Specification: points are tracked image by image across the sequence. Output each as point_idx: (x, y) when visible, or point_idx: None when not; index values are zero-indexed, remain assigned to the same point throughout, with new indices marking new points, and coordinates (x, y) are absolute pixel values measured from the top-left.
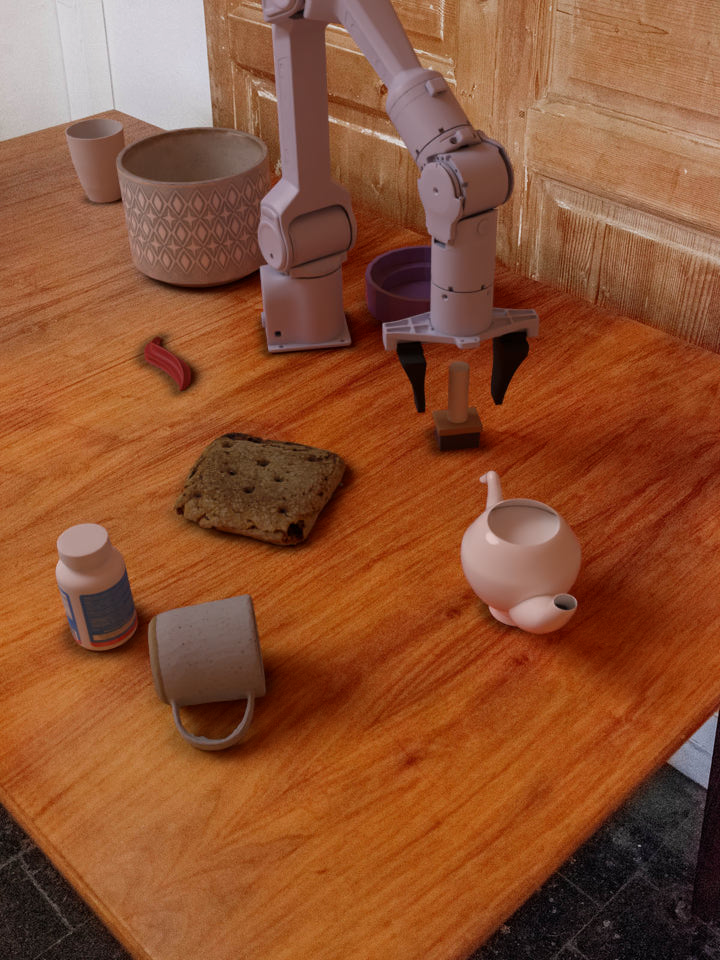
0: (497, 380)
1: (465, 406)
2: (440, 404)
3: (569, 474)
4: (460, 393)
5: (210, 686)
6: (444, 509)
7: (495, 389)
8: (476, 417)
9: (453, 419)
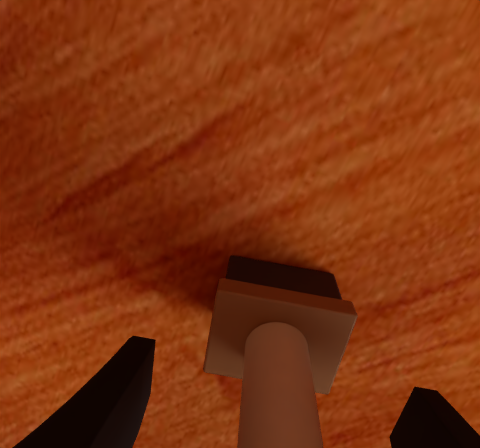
0: (110, 442)
1: (263, 367)
2: None
3: (23, 52)
4: (290, 424)
5: None
6: (466, 12)
7: (133, 401)
8: (220, 330)
9: (300, 339)
